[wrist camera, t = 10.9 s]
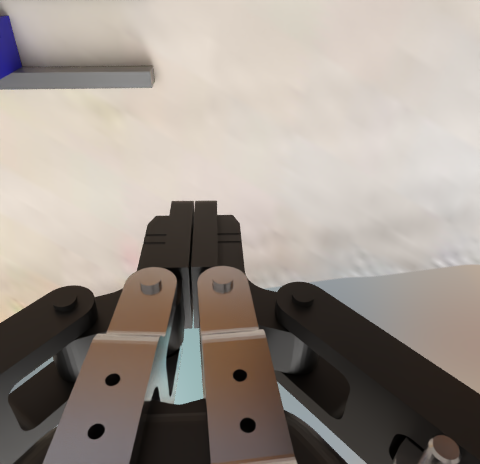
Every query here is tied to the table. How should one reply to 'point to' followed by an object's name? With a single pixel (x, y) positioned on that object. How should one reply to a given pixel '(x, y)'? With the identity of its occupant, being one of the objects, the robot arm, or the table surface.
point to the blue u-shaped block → (8, 49)
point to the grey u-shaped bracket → (79, 77)
